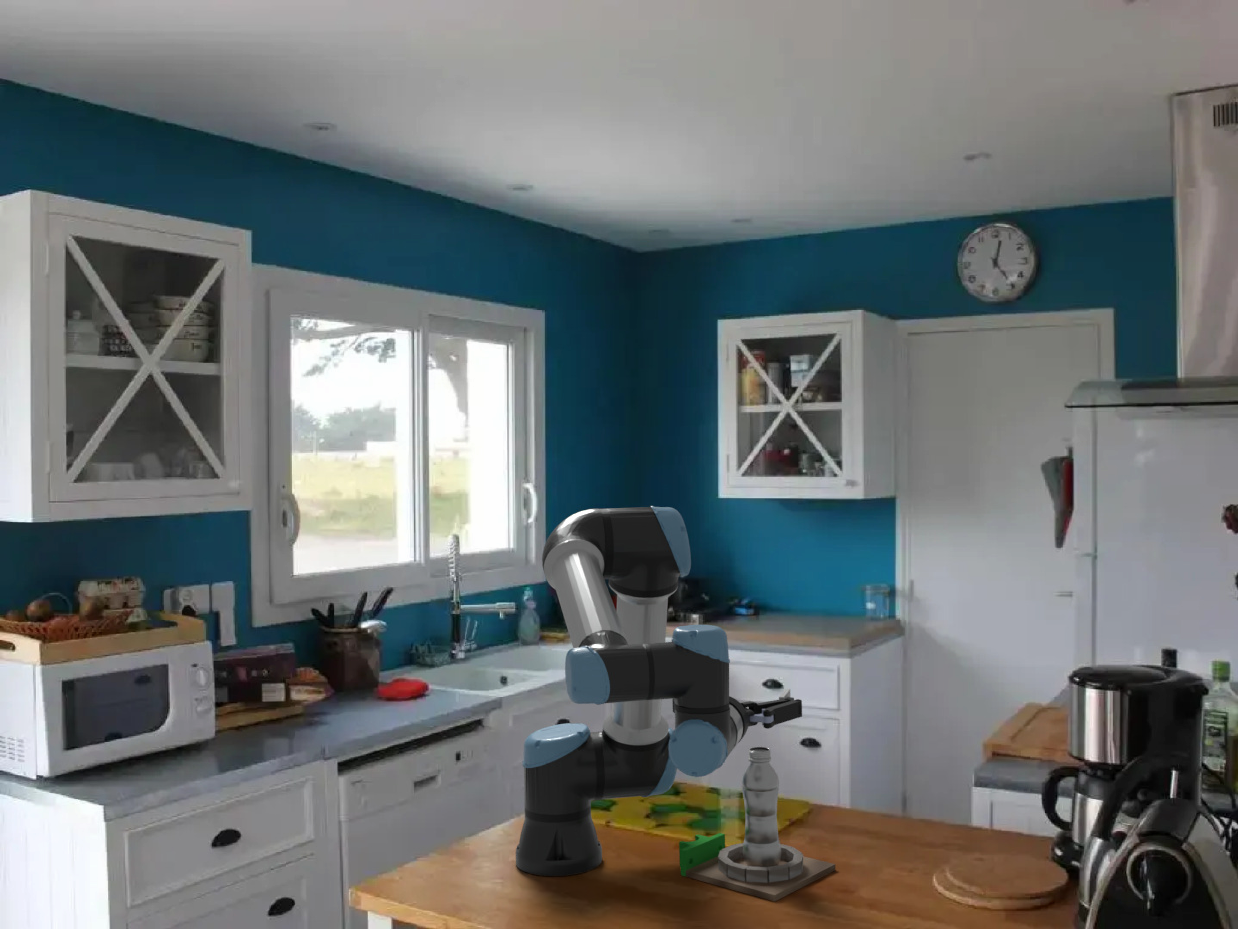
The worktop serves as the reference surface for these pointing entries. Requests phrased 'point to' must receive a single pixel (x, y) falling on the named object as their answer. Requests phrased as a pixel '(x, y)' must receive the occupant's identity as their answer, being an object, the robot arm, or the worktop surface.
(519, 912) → the worktop surface
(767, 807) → the plastic bottle
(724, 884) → the ring board
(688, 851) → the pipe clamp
